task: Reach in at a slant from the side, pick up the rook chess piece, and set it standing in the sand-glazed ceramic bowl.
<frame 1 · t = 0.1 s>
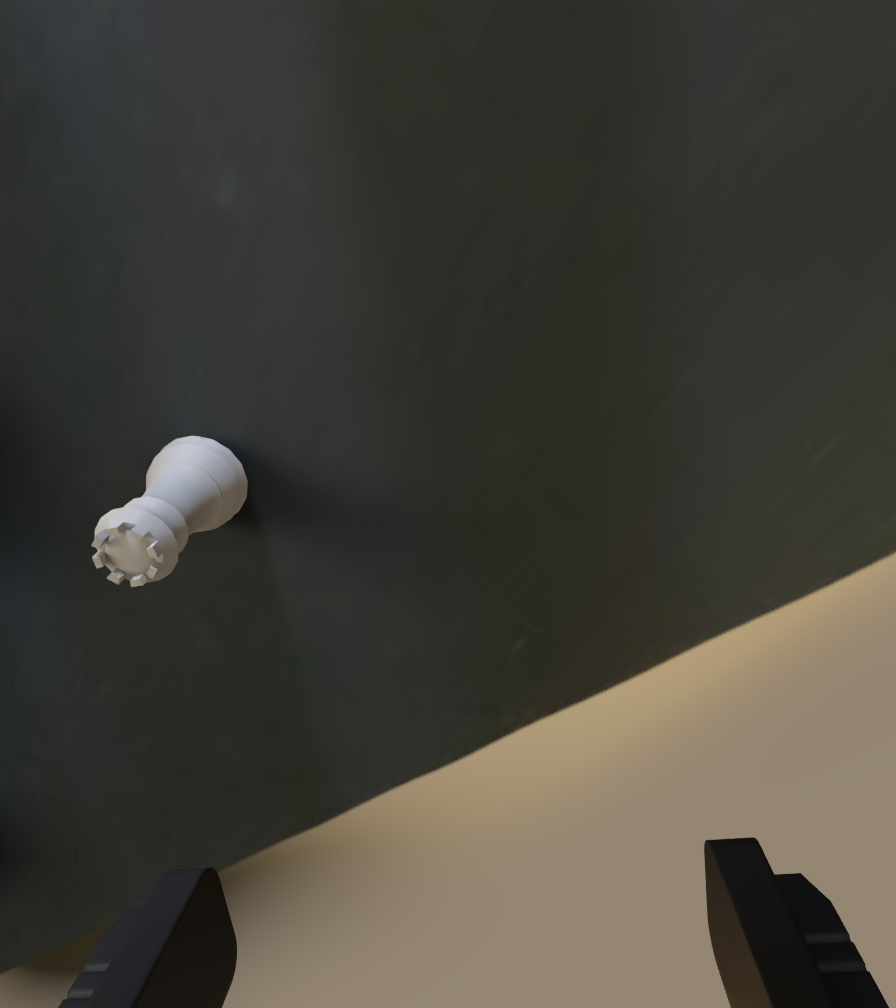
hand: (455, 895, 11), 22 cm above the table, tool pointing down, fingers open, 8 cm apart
rook chess piece: (206, 475, 33), on the table
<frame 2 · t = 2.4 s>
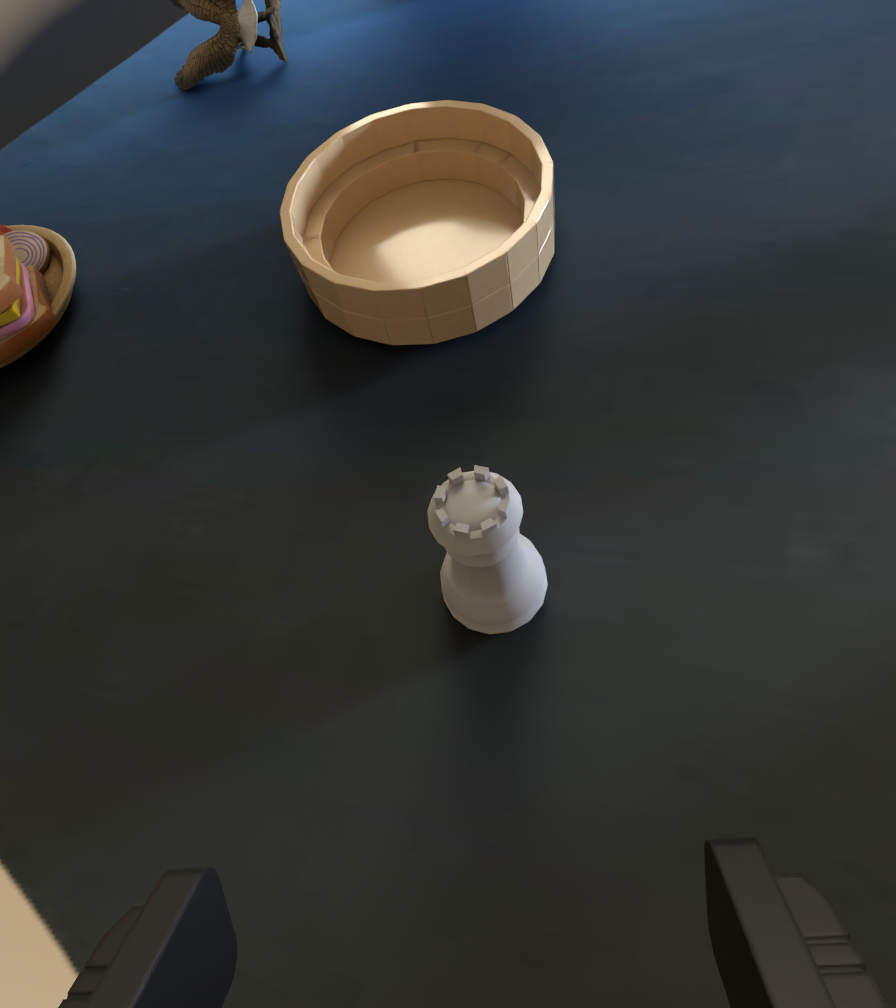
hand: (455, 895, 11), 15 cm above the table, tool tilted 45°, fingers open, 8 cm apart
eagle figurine: (237, 68, 53), on the table
rook chess piece: (495, 588, 30), on the table
toy sandwich meal: (0, 316, 43), on the table
bowl: (429, 255, 40), on the table
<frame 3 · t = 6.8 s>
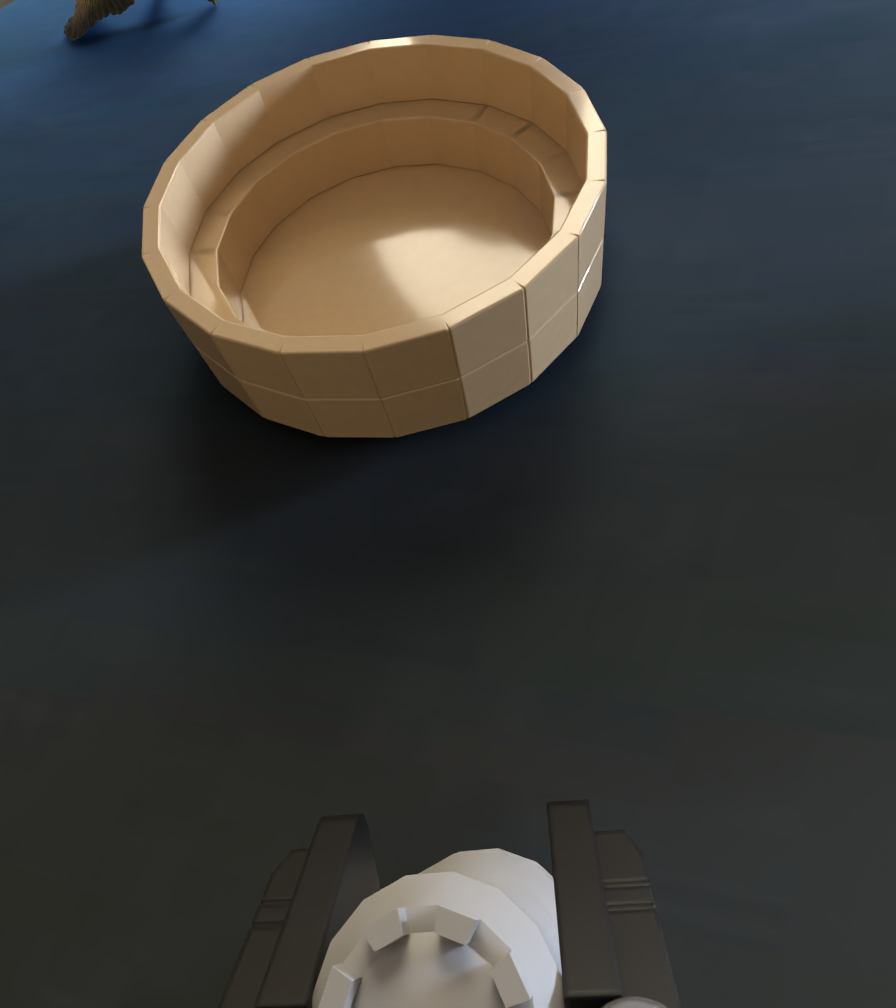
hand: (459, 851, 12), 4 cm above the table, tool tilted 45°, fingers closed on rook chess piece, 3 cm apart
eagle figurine: (151, 13, 38), on the table
rook chess piece: (491, 965, 15), on the table, touching gripper
bowl: (397, 282, 25), on the table
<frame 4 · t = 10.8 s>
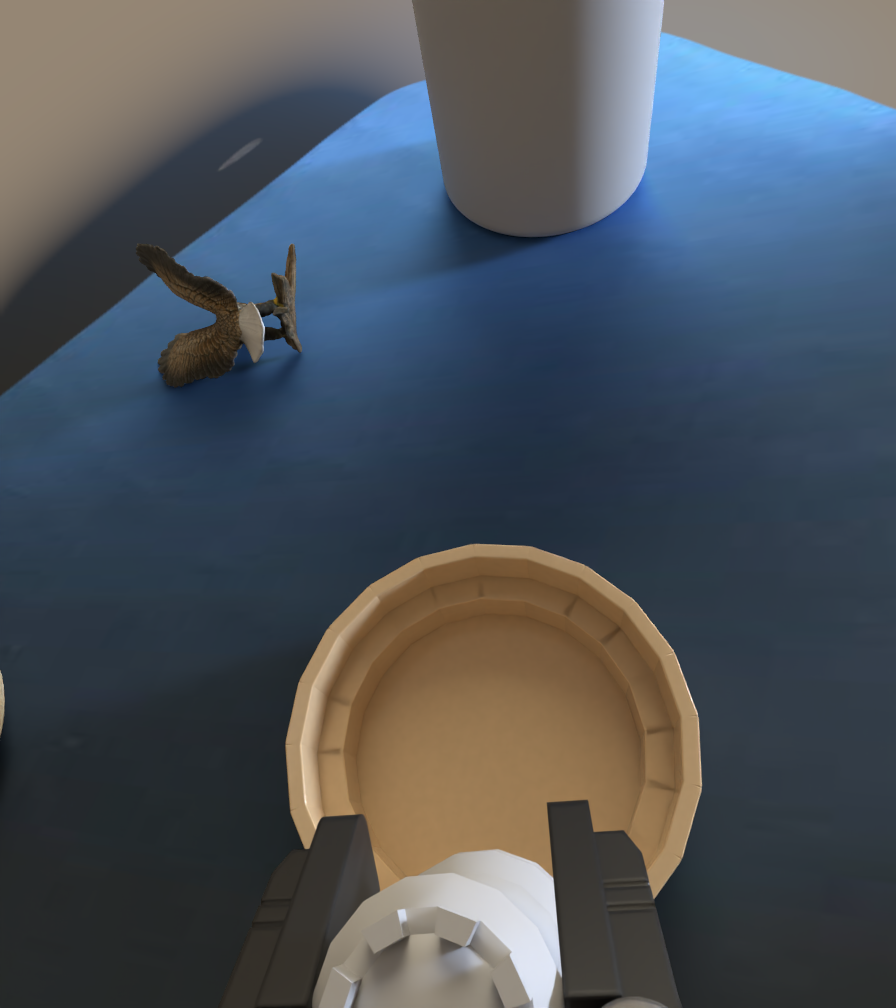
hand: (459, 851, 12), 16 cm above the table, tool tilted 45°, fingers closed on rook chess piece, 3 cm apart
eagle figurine: (238, 351, 41), on the table
rook chess piece: (491, 966, 15), point 12 cm above the table, touching gripper
bowl: (496, 752, 28), on the table
cylinder vase: (543, 177, 44), on the table
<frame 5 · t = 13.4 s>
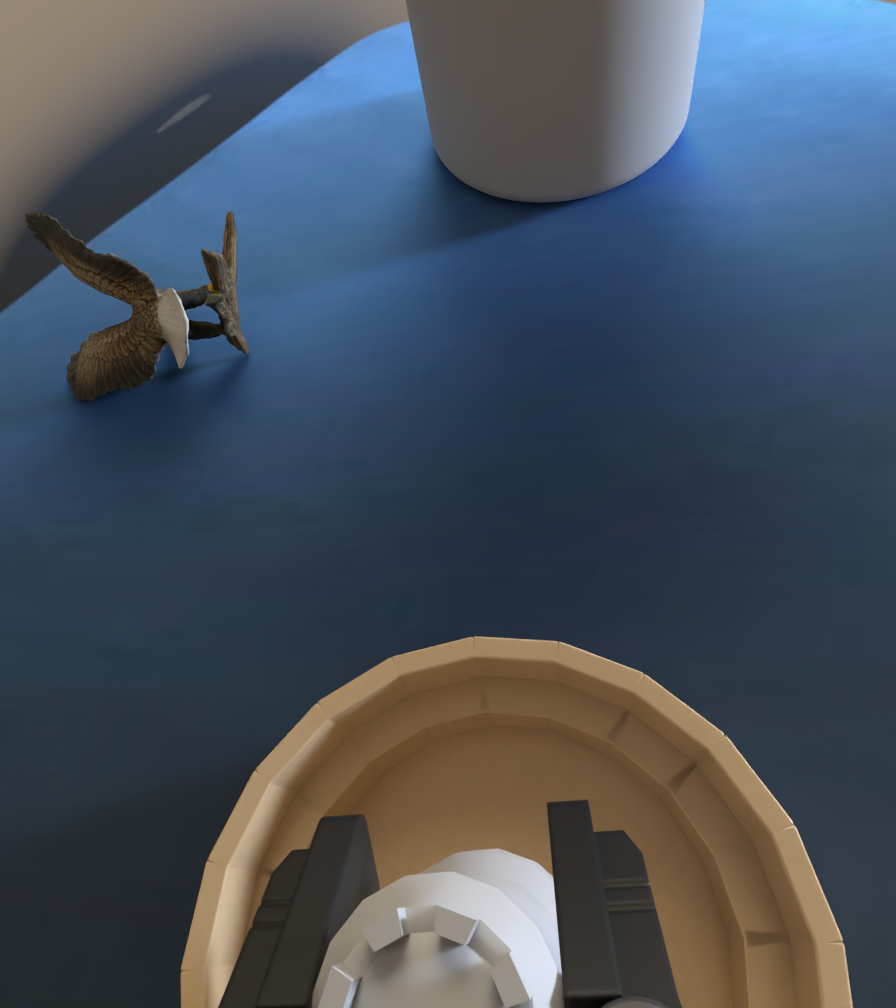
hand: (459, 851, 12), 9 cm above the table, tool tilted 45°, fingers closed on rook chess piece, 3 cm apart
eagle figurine: (170, 353, 32), on the table
rook chess piece: (491, 965, 15), point 5 cm above the table, touching gripper
bowl: (510, 942, 19), on the table
cylinder vase: (556, 129, 35), on the table
when the fingers open (5 cm above the table, at t = 14.9 s): rook chess piece stays where it is, resting on bowl.
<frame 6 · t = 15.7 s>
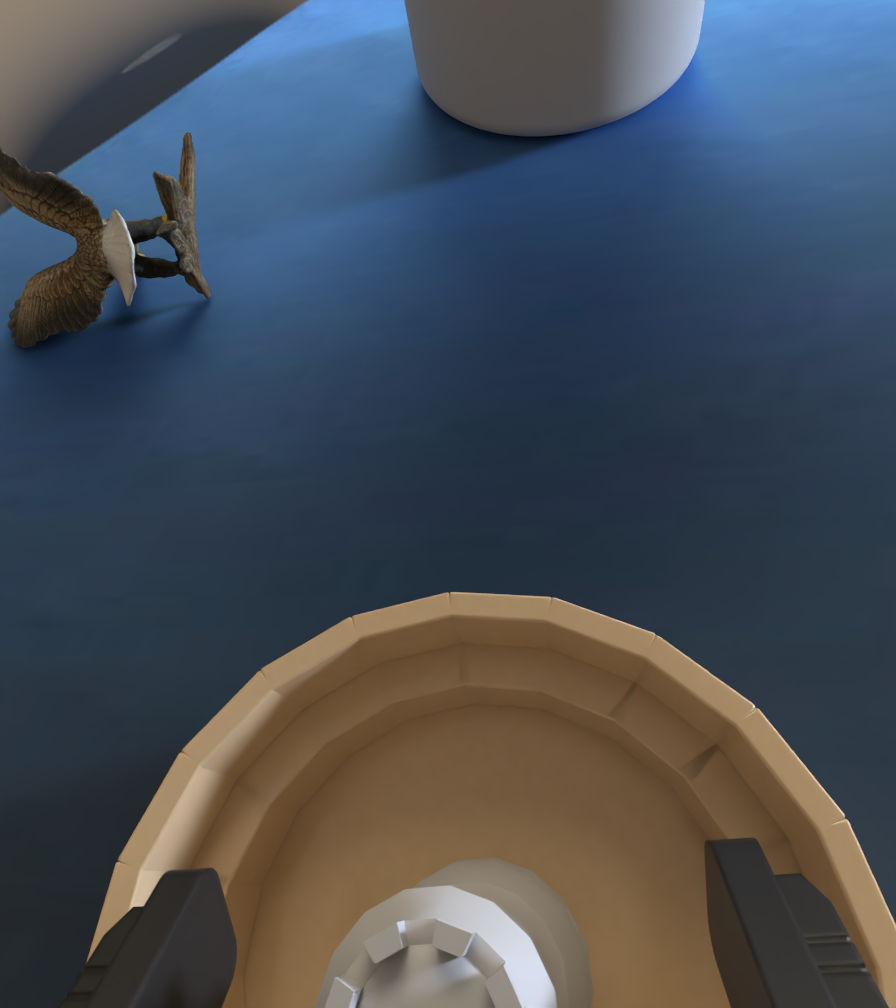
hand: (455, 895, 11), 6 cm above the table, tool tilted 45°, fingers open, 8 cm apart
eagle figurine: (124, 298, 29), on the table
rook chess piece: (488, 971, 15), resting on bowl
bowl: (492, 961, 16), on the table
cylinder vase: (554, 63, 32), on the table
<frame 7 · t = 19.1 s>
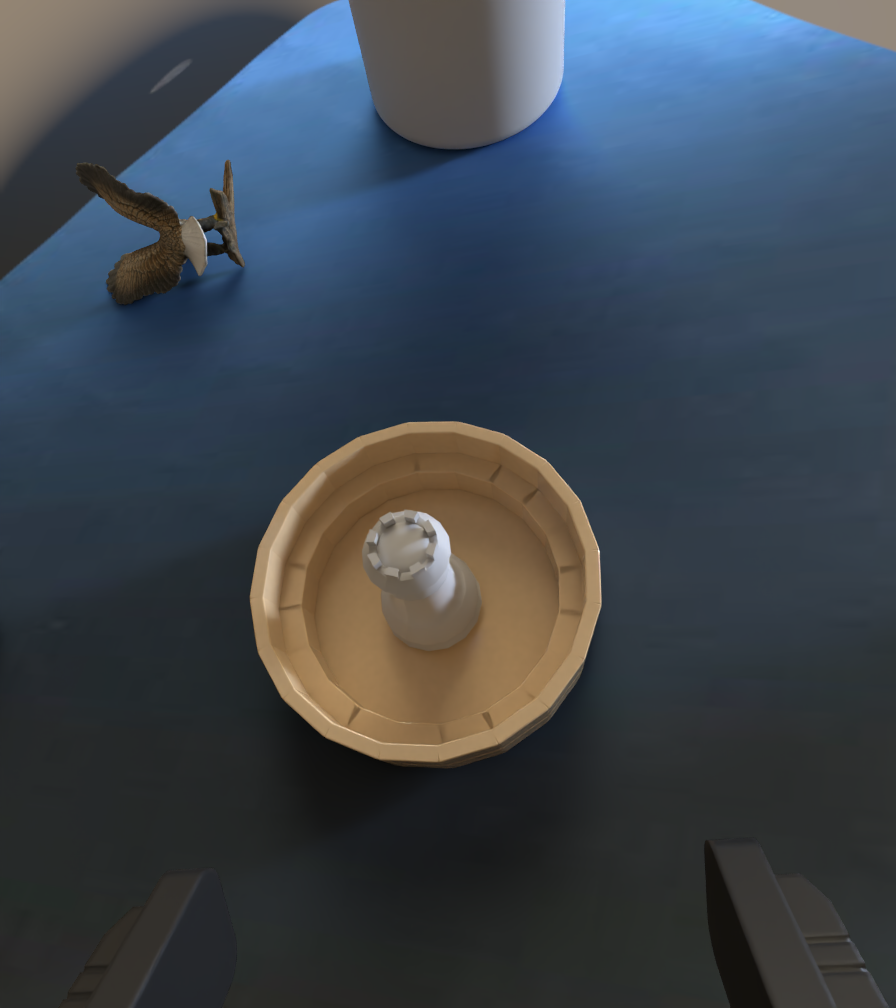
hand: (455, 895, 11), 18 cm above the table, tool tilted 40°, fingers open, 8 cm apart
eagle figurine: (184, 268, 43), on the table
rook chess piece: (434, 605, 32), resting on bowl
bowl: (436, 604, 32), on the table
cylinder vase: (467, 91, 46), on the table
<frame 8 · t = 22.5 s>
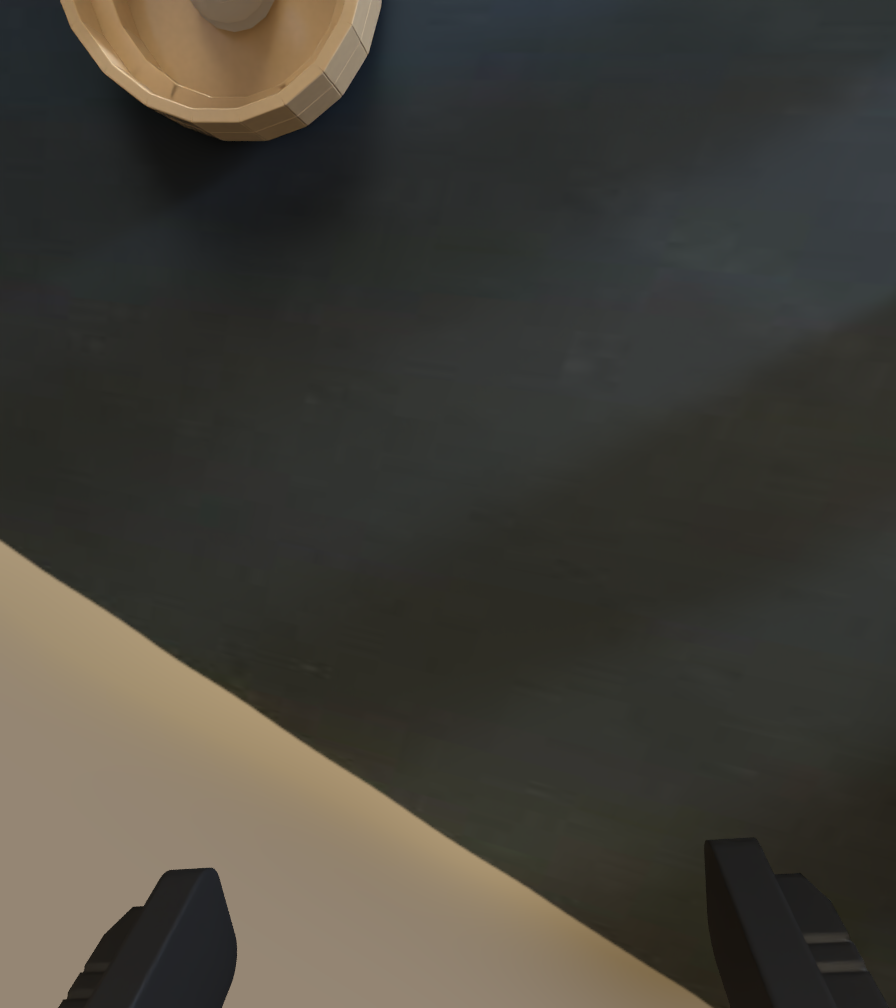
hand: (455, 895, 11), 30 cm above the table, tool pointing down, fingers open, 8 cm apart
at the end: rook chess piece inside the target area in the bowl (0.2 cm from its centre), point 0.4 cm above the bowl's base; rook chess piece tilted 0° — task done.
